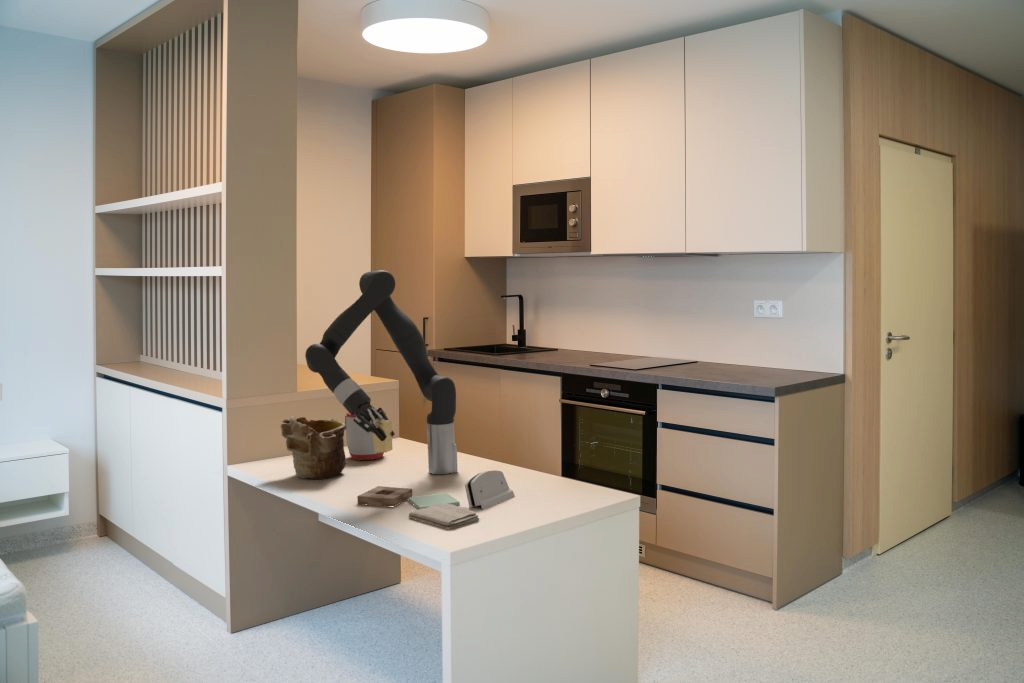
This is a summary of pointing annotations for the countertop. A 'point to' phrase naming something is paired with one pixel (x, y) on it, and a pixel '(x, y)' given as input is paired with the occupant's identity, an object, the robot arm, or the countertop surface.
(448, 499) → the mat
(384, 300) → the robot arm
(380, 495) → the socket base
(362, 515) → the countertop surface
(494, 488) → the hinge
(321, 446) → the ceramic vessel
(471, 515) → the washcloth
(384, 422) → the peg
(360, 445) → the citrus juicer
